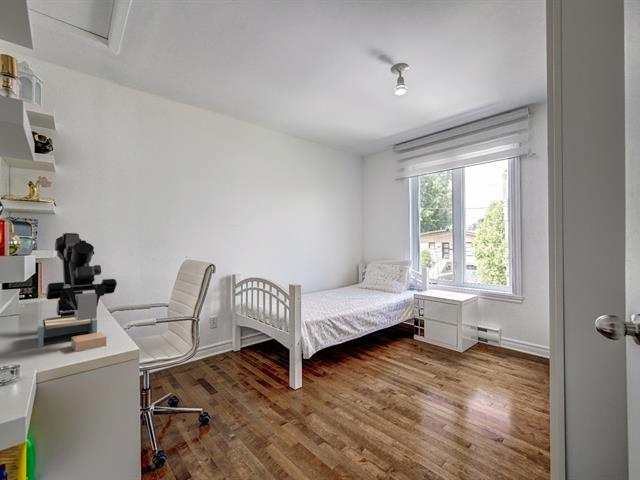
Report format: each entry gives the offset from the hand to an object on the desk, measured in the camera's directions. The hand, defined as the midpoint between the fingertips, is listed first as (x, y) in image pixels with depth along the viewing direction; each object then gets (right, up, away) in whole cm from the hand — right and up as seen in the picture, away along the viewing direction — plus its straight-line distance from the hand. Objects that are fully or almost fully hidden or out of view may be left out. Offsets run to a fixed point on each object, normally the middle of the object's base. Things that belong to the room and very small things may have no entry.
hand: (86, 308), depth 99 cm
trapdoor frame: (-14, -13, +8) cm, 20 cm away
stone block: (+1, -12, -1) cm, 13 cm away
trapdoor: (-13, -7, +8) cm, 17 cm away
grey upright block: (-1, -4, +1) cm, 4 cm away
